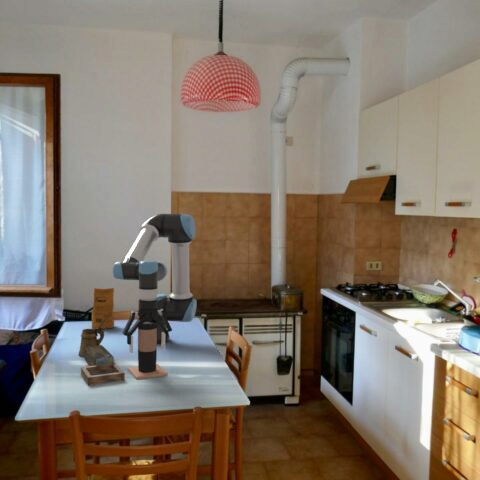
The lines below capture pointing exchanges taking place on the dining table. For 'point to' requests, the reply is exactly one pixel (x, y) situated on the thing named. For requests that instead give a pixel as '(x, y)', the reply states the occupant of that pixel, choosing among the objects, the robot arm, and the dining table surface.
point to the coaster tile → (140, 375)
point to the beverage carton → (98, 355)
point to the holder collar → (104, 378)
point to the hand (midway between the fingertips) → (147, 350)
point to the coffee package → (103, 308)
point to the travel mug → (147, 346)
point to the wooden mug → (91, 338)
